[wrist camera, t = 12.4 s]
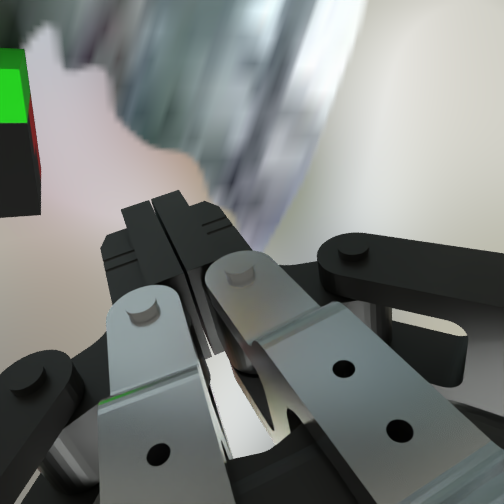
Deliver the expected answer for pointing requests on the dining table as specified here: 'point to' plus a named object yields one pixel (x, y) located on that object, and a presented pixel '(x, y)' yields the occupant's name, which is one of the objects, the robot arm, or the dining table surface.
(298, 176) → the dining table surface
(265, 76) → the dining table surface
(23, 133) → the puzzle toy
